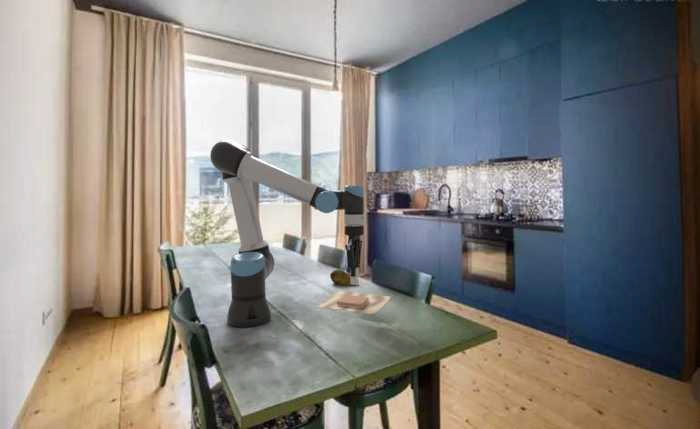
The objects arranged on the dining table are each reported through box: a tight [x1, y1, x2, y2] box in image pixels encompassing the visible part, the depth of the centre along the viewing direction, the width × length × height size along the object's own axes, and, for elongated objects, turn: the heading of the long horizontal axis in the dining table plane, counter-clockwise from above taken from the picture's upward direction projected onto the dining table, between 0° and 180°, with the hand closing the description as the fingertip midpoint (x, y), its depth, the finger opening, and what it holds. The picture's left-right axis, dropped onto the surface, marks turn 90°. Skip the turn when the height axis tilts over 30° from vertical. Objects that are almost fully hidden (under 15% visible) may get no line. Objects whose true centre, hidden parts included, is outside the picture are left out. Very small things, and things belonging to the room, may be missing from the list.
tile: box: [337, 295, 369, 308], centre depth 141 cm, size 10×2×9 cm
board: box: [315, 290, 392, 315], centre depth 143 cm, size 24×22×2 cm
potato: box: [329, 269, 359, 287], centre depth 169 cm, size 8×13×8 cm, turn 63°
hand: (354, 284), depth 142 cm, fingers closed
